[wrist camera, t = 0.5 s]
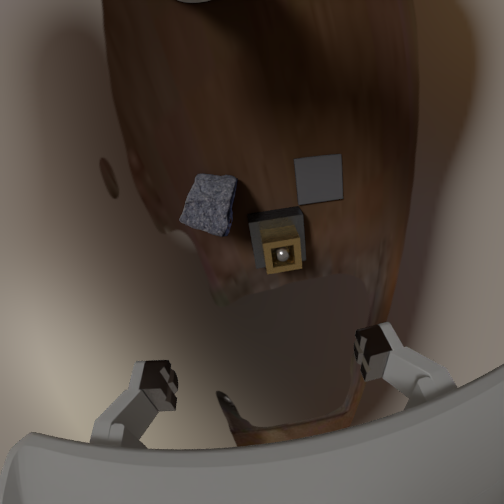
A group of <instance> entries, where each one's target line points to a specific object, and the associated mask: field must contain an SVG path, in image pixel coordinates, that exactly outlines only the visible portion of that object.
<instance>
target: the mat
mask: <svg viewBox="0 0 504 504" xmlns="http://www.w3.org/2000/svg"><path fill="white" fill-rule="evenodd" d="M294 166H295V176H296V186H297V196H298V204H299V205H302V204H309V203H315V202H322V201H330V200H337V199H343V184H342V160H341V154H333V155H323V156H314V157H306V158H298V159H294Z"/></svg>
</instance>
